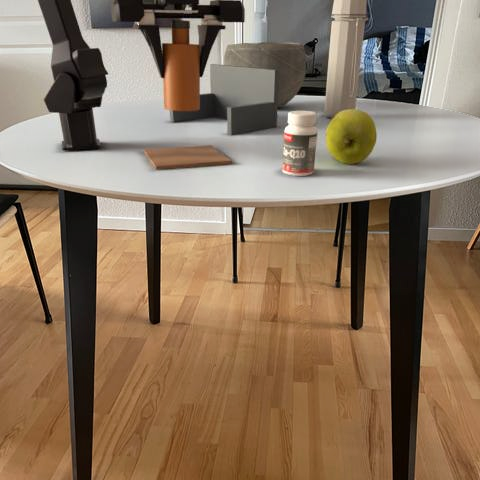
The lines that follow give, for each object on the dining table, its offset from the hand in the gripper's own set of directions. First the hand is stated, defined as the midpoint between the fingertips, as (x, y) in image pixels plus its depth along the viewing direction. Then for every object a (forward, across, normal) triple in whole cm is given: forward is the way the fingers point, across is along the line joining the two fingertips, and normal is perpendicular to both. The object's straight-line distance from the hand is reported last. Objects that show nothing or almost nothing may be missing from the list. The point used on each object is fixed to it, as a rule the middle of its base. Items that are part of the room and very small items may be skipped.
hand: (181, 77), depth 77 cm
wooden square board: (+12, 0, +1) cm, 12 cm away
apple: (+12, -24, +12) cm, 29 cm away
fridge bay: (+12, -14, -27) cm, 33 cm away
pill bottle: (+12, -14, +15) cm, 24 cm away
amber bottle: (+4, 0, 0) cm, 5 cm away
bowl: (+12, -32, -48) cm, 59 cm away
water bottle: (+12, -44, -28) cm, 54 cm away
